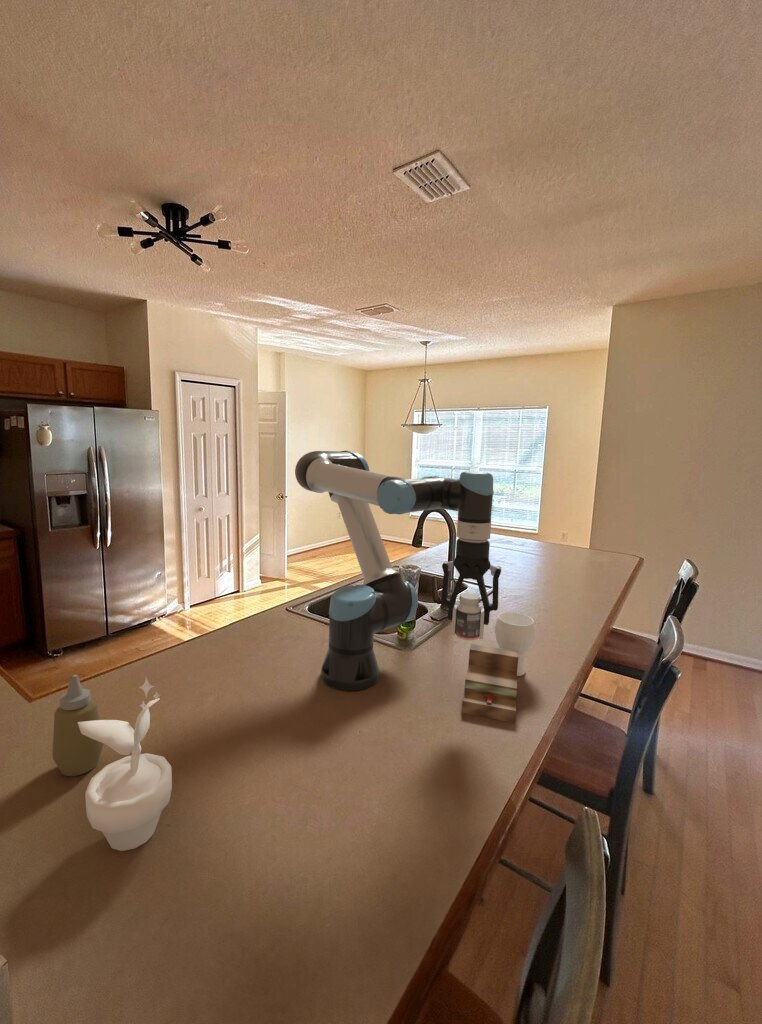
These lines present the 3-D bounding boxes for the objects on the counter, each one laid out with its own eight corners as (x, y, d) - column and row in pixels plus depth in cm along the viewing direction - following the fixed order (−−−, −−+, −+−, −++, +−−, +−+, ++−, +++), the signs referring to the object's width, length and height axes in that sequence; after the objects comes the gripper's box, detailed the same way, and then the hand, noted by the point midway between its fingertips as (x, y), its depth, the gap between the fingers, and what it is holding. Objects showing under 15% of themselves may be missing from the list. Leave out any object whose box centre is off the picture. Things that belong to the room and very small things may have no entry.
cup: (533, 681, 123) (538, 628, 121) (492, 676, 125) (496, 623, 123) (528, 663, 133) (533, 613, 131) (491, 658, 135) (495, 609, 133)
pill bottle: (451, 632, 111) (453, 592, 110) (472, 630, 113) (475, 591, 111) (461, 642, 106) (463, 600, 104) (483, 640, 107) (486, 599, 106)
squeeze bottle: (95, 745, 91) (90, 660, 89) (112, 765, 86) (107, 676, 84) (47, 766, 85) (39, 676, 82) (62, 789, 80) (54, 694, 77)
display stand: (461, 712, 108) (464, 672, 106) (468, 678, 123) (470, 643, 121) (514, 723, 105) (518, 682, 103) (514, 687, 120) (518, 651, 118)
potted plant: (185, 805, 78) (181, 667, 74) (153, 869, 67) (147, 710, 62) (108, 804, 78) (100, 665, 73) (64, 868, 66) (51, 708, 62)
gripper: (429, 538, 105) (425, 635, 108) (515, 546, 100) (507, 647, 103) (435, 532, 112) (431, 623, 116) (515, 539, 107) (508, 634, 110)
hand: (467, 634), depth 109 cm, fingers closed on pill bottle, 6 cm apart
